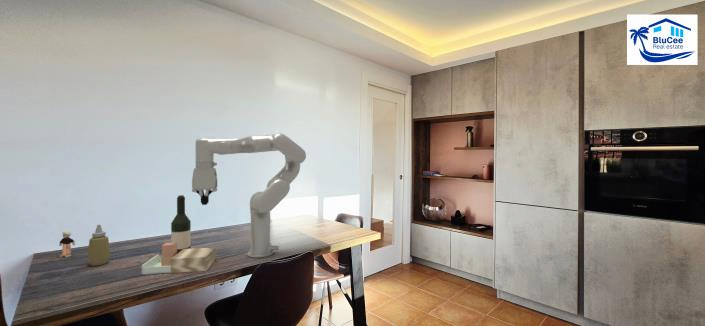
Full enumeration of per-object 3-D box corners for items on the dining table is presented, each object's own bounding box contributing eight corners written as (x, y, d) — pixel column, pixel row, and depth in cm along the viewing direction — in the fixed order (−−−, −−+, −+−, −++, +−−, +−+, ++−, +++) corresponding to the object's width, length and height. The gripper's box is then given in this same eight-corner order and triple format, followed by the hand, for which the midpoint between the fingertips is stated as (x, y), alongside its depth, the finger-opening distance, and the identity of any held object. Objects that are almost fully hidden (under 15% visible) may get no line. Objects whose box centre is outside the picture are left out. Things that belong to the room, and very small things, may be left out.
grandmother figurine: (54, 258, 141) (54, 232, 141) (60, 255, 145) (60, 230, 145) (73, 257, 143) (72, 231, 143) (78, 254, 146) (78, 229, 146)
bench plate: (215, 259, 139) (215, 247, 139) (206, 270, 125) (206, 256, 125) (183, 261, 136) (183, 248, 136) (170, 273, 122) (170, 258, 122)
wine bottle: (181, 258, 141) (181, 196, 141) (167, 257, 142) (167, 196, 142) (194, 253, 149) (194, 194, 149) (180, 252, 151) (180, 194, 150)
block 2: (176, 253, 131) (165, 254, 130) (172, 256, 127) (161, 256, 126) (176, 264, 131) (165, 265, 130) (172, 267, 127) (161, 268, 126)
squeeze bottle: (114, 262, 136) (114, 223, 135) (94, 268, 128) (94, 227, 128) (103, 260, 138) (103, 222, 138) (82, 265, 131) (82, 226, 130)
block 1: (177, 242, 131) (166, 242, 130) (173, 245, 127) (161, 245, 126) (177, 253, 131) (166, 254, 130) (173, 256, 127) (161, 256, 126)
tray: (183, 261, 136) (183, 253, 136) (170, 273, 122) (170, 263, 122) (157, 263, 134) (157, 254, 134) (141, 274, 120) (141, 265, 120)
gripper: (223, 165, 140) (223, 202, 140) (190, 165, 138) (190, 203, 138) (219, 165, 133) (219, 205, 133) (184, 165, 130) (184, 206, 130)
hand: (204, 204), depth 135 cm, fingers closed
